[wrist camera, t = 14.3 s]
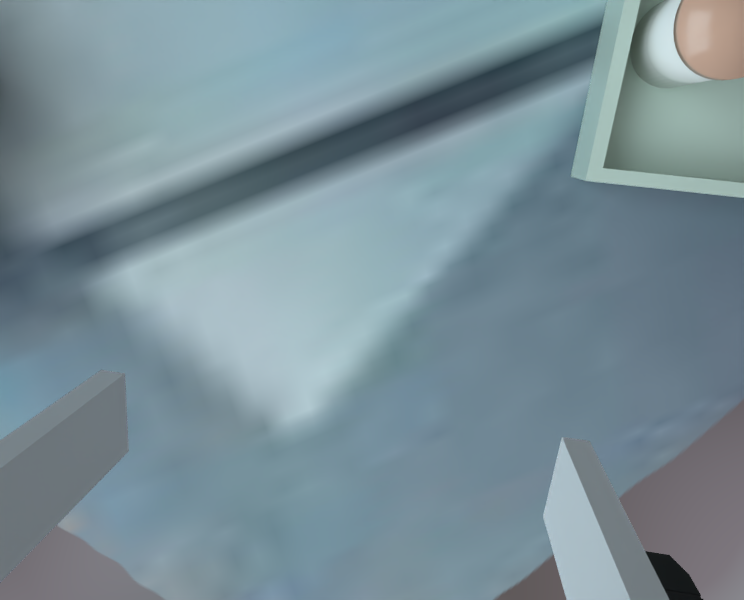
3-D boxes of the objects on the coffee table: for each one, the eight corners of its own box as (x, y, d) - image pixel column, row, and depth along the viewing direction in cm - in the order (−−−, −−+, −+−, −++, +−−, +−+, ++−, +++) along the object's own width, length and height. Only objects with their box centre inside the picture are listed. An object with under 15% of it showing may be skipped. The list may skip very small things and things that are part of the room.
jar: (639, -10, 38) (697, -51, 29) (733, -3, 37) (819, -43, 29) (617, 87, 40) (666, 73, 31) (707, 95, 39) (780, 84, 31)
